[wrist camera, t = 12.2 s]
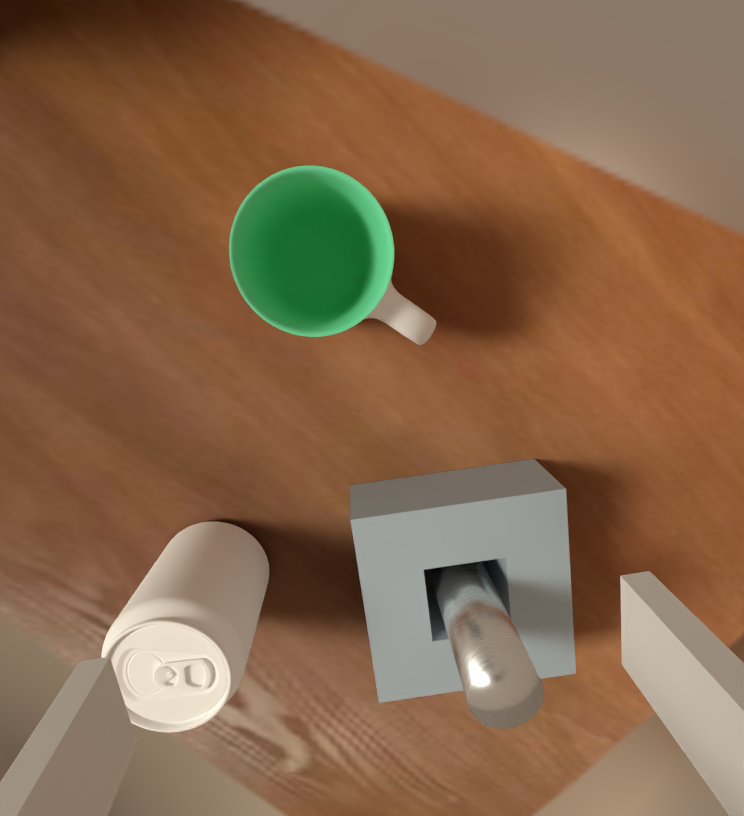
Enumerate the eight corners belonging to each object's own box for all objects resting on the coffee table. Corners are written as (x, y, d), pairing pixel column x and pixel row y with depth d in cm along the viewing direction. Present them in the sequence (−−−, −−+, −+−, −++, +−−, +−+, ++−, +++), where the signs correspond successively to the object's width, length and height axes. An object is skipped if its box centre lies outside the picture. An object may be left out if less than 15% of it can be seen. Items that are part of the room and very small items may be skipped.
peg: (423, 539, 41) (464, 669, 27) (475, 531, 41) (541, 657, 27) (429, 585, 42) (471, 733, 28) (479, 578, 42) (546, 722, 28)
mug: (452, 270, 37) (491, 265, 27) (392, 370, 38) (409, 402, 28) (298, 175, 35) (277, 131, 25) (241, 284, 36) (200, 284, 26)
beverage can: (160, 517, 40) (82, 614, 28) (269, 517, 40) (237, 612, 29) (167, 613, 42) (97, 741, 30) (272, 612, 42) (242, 738, 30)
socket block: (349, 485, 40) (350, 519, 34) (534, 458, 40) (565, 488, 34) (374, 646, 43) (379, 702, 37) (545, 620, 43) (576, 673, 37)
